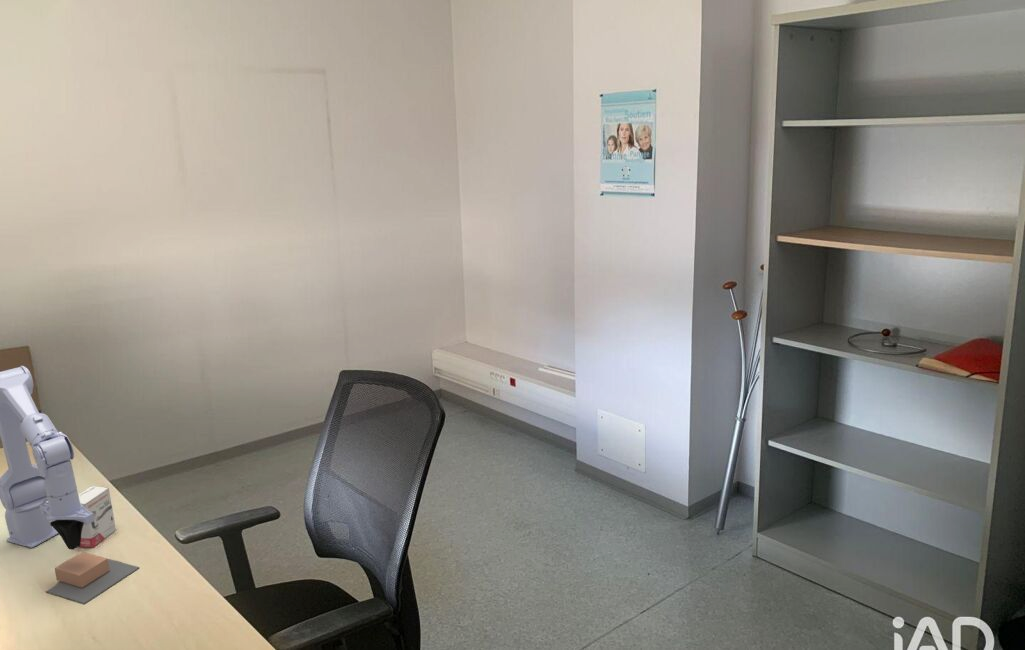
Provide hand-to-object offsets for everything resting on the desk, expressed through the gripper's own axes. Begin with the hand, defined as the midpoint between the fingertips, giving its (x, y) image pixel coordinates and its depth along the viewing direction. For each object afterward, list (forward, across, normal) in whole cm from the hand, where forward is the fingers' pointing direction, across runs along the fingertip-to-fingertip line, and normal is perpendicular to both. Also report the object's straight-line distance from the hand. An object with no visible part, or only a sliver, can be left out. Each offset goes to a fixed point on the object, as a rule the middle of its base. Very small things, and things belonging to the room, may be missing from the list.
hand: (74, 547), depth 172 cm
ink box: (+8, -11, +13) cm, 19 cm away
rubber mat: (+7, +4, 0) cm, 8 cm away
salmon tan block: (+5, -3, 0) cm, 6 cm away
